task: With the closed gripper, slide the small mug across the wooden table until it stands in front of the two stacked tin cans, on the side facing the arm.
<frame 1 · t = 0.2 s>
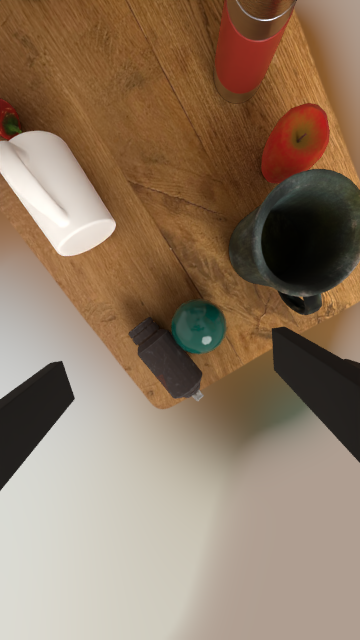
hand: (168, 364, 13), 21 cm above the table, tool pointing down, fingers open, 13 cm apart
mug 2: (80, 211, 29), on the table
apple: (273, 168, 28), on the table
sphere: (196, 319, 33), on the table
tin low: (238, 73, 25), on the table, touching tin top
mug: (264, 259, 31), on the table
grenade: (137, 324, 32), point 2 cm above the table
vegetable: (21, 121, 25), point 2 cm above the table
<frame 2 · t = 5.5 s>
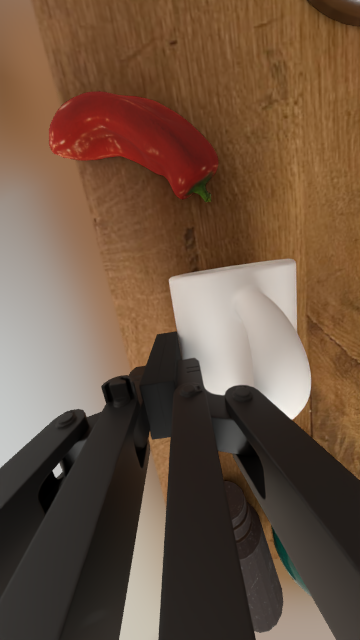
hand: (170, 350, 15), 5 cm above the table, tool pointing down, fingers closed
mug 2: (221, 322, 19), on the table, touching gripper
sphere: (291, 493, 25), on the table
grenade: (218, 490, 22), point 2 cm above the table
vegetable: (219, 188, 15), point 2 cm above the table
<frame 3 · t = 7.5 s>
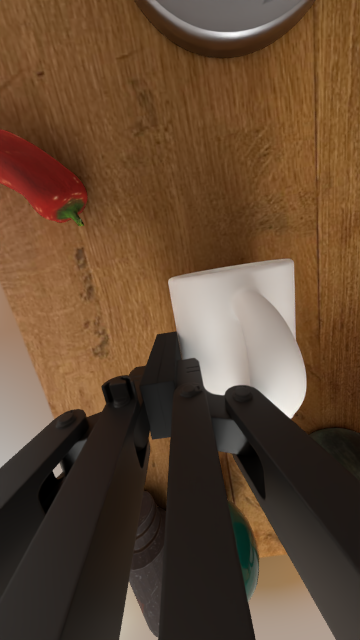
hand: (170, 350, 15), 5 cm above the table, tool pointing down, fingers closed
mug 2: (222, 322, 20), on the table, touching gripper
sphere: (212, 501, 25), on the table
mug: (323, 470, 24), on the table
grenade: (132, 500, 23), point 2 cm above the table
vegetable: (89, 213, 15), point 2 cm above the table
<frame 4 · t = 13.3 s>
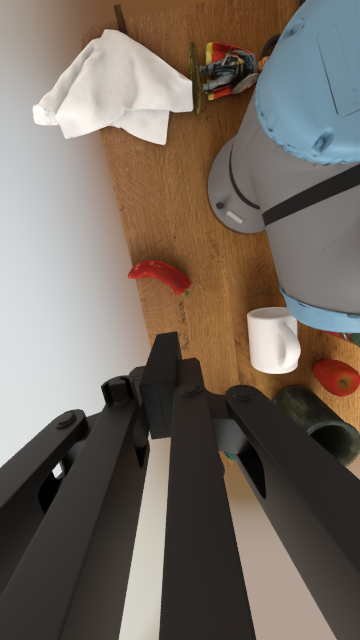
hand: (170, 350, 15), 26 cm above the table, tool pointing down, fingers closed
mug 2: (262, 331, 42), on the table
figurine: (191, 76, 30), point 3 cm above the table
cloth: (112, 92, 32), on the table
apple: (320, 365, 44), on the table
tin low: (324, 314, 41), on the table, touching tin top
mug: (291, 409, 47), on the table
dark brown stick: (136, 68, 31), on the table
vegetable: (192, 291, 38), point 2 cm above the table
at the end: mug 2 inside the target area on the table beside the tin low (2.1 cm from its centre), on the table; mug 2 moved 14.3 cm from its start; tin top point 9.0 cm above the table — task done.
